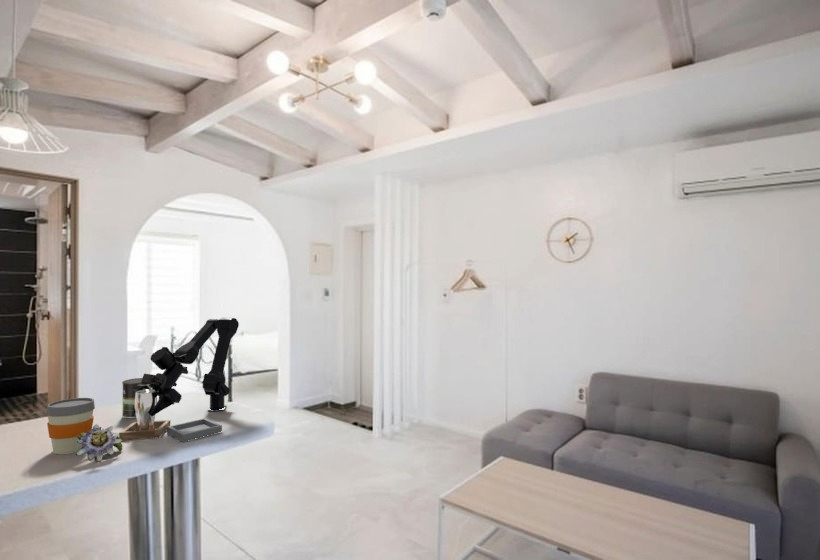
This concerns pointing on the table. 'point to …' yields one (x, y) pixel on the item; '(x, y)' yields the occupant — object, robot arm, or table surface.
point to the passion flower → (98, 442)
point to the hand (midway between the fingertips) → (142, 414)
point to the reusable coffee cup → (69, 423)
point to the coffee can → (130, 396)
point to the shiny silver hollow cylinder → (145, 409)
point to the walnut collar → (131, 434)
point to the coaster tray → (193, 429)
